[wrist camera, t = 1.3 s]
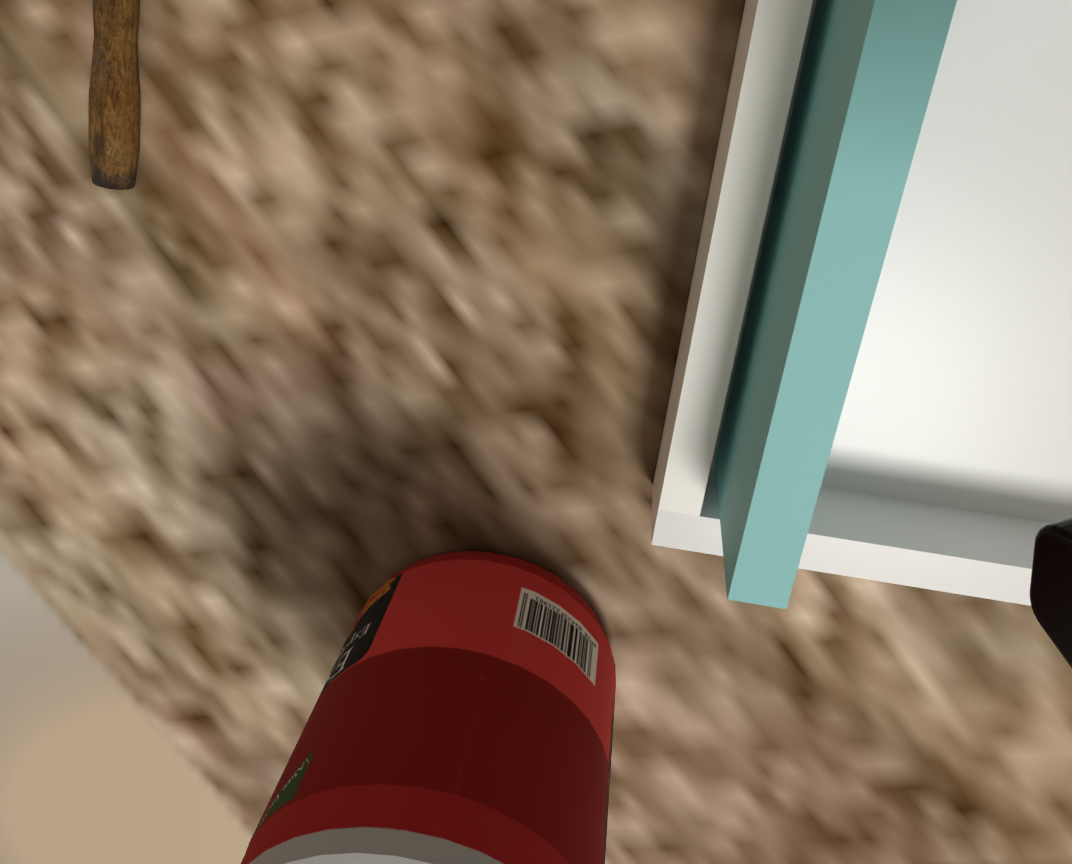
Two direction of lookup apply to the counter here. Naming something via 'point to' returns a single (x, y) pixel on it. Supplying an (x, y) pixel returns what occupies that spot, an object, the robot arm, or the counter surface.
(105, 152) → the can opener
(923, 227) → the lane
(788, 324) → the pusher
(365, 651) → the canned food
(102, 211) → the counter surface
